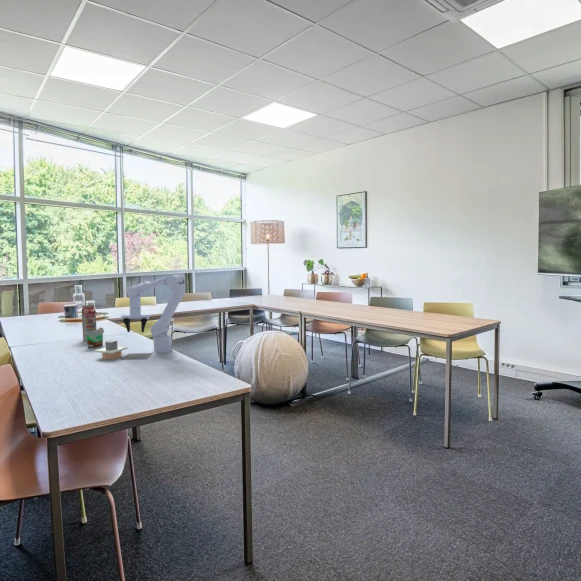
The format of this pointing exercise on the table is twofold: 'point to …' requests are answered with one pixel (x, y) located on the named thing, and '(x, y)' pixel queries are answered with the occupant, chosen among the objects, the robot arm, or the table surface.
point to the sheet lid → (111, 347)
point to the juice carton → (88, 319)
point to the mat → (137, 356)
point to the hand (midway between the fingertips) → (135, 331)
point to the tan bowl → (111, 355)
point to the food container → (95, 338)
